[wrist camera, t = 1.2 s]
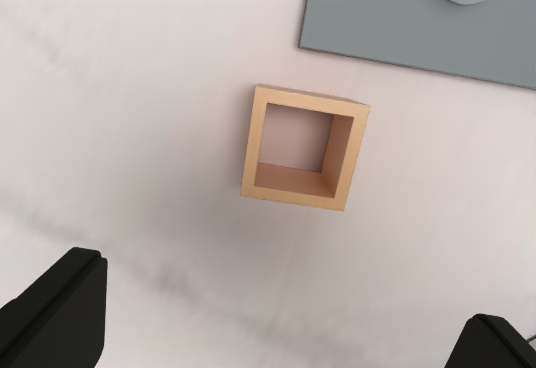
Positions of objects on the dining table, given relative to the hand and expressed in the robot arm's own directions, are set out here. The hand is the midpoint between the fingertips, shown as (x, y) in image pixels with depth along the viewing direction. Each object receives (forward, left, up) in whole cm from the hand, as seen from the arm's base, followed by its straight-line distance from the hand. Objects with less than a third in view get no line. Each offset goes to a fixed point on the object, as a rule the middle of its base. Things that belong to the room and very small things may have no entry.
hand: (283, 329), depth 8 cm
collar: (-1, -2, -19) cm, 20 cm away
